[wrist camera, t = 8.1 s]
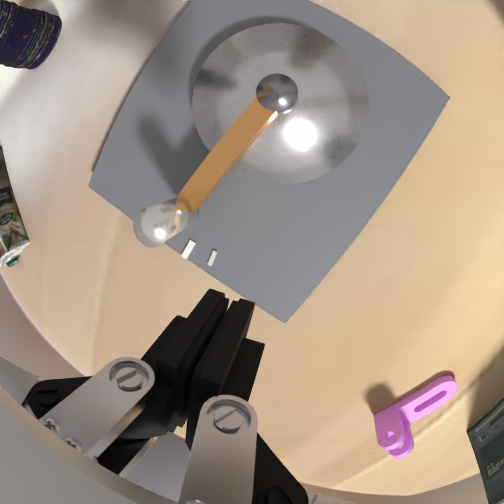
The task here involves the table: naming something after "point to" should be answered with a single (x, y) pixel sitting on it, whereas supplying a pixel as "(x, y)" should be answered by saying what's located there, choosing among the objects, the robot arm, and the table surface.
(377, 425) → the bracket
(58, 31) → the storage jar
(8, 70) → the table surface
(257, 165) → the capstan dial
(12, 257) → the juice carton
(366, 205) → the base plate
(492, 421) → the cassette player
